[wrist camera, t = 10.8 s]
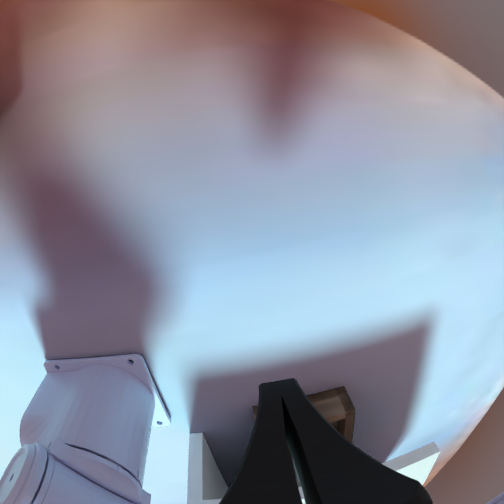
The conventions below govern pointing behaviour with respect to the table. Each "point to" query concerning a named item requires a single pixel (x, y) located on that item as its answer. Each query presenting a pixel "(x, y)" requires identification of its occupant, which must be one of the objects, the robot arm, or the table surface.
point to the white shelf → (214, 487)
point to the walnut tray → (331, 414)
